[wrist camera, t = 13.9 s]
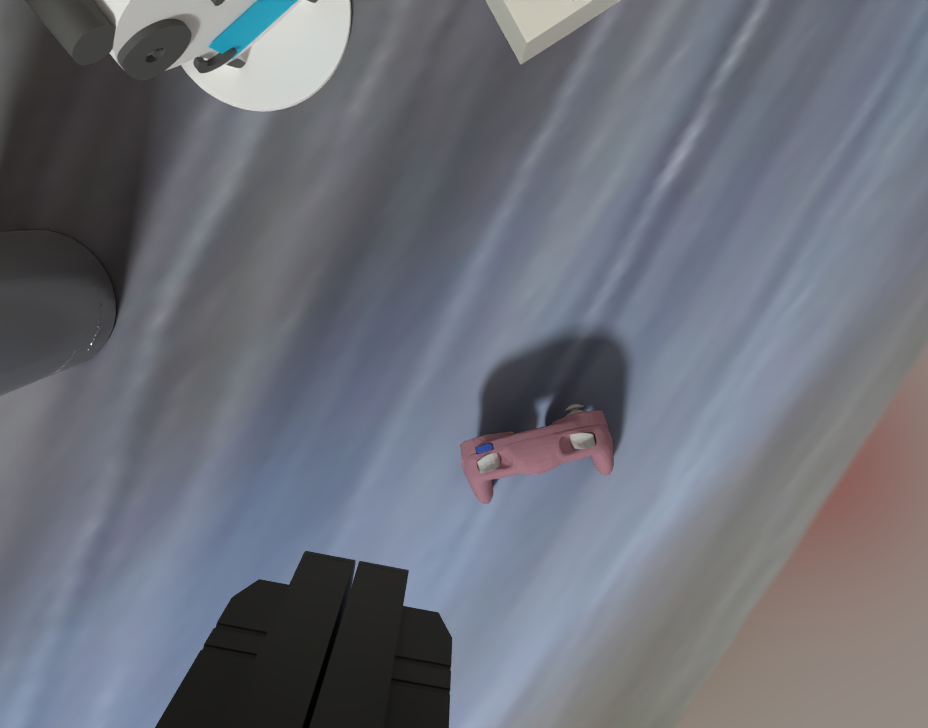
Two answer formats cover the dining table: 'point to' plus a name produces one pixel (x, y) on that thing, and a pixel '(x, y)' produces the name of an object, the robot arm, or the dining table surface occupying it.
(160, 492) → the dining table surface
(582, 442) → the video game controller
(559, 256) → the dining table surface
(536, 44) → the switch box
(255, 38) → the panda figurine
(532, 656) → the dining table surface
